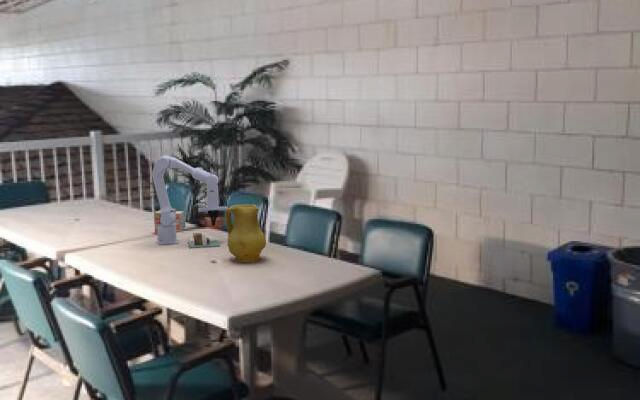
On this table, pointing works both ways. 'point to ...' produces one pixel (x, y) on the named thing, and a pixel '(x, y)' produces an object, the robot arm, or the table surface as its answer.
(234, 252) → the pitcher
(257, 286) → the table surface
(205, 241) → the sliding jaw
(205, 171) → the robot arm
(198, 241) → the walnut block
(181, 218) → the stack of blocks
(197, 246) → the vise base
